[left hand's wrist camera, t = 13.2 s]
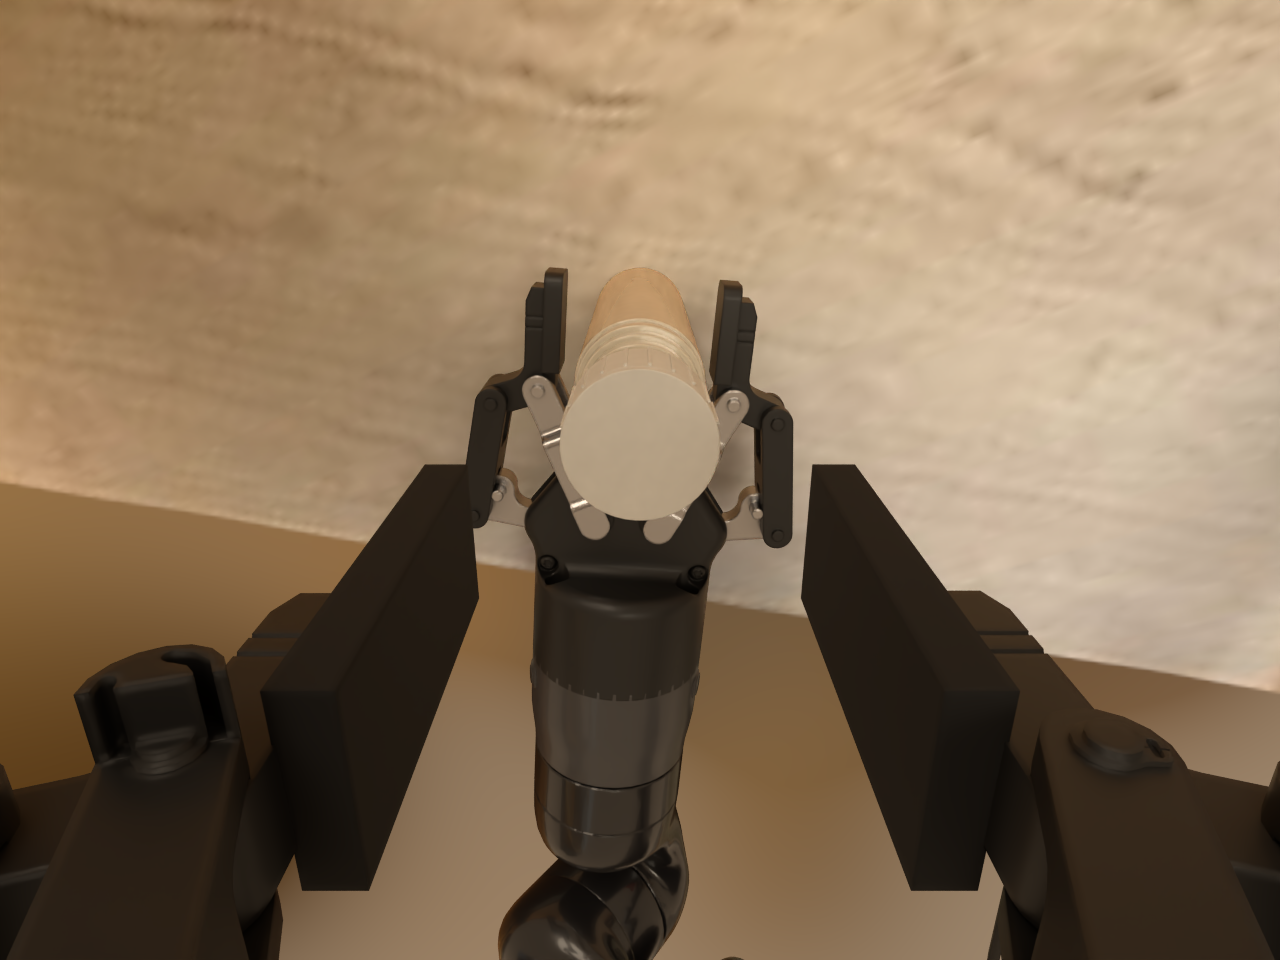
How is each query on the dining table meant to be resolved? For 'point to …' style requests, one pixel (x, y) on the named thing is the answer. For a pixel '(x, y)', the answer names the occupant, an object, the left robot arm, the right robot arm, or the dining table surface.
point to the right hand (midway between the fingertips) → (644, 278)
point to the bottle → (639, 321)
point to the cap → (639, 435)
